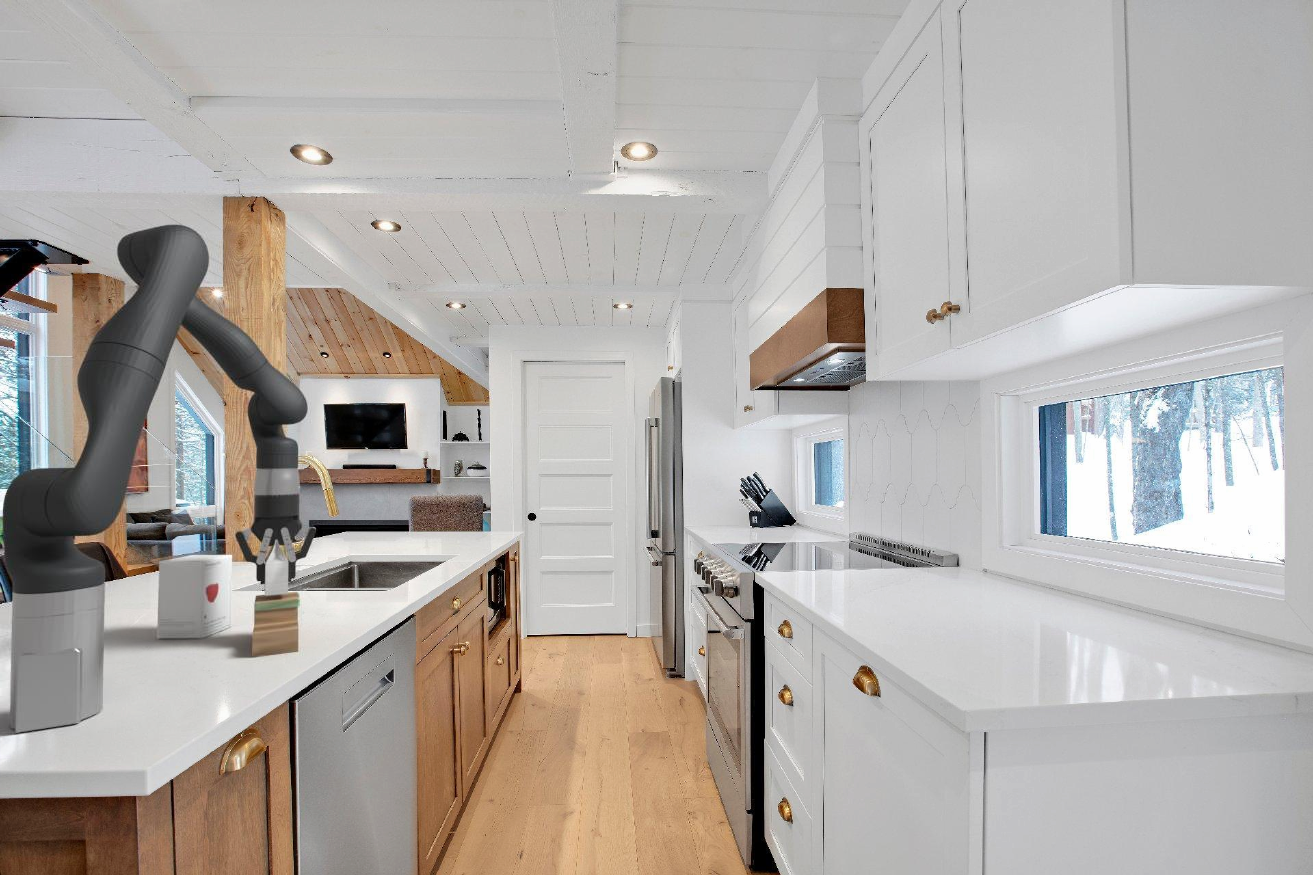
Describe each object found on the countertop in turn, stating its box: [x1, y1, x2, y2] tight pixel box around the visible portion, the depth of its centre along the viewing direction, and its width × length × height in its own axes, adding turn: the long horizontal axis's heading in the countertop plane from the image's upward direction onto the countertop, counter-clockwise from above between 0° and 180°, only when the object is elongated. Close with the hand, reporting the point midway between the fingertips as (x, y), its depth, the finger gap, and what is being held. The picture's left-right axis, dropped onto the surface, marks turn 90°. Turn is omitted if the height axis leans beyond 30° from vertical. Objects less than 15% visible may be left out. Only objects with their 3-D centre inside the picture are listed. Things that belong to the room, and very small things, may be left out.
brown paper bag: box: [251, 591, 301, 658], centre depth 123 cm, size 15×7×8 cm, turn 29°
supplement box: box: [156, 554, 233, 639], centre depth 131 cm, size 9×9×15 cm
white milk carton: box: [263, 540, 289, 596], centre depth 126 cm, size 4×7×10 cm, turn 32°
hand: (276, 581), depth 126 cm, fingers closed on white milk carton, 3 cm apart
